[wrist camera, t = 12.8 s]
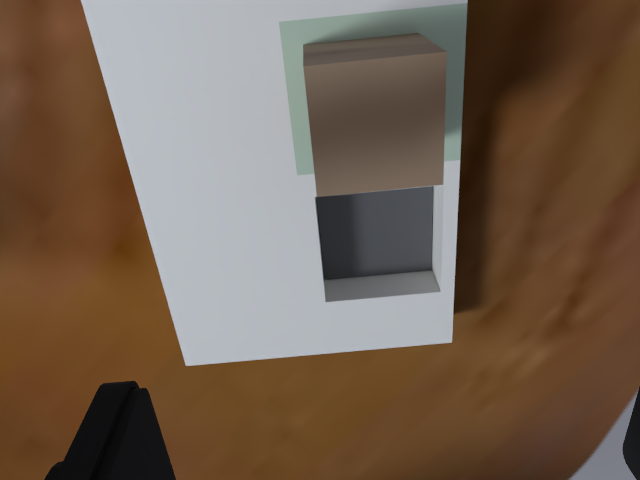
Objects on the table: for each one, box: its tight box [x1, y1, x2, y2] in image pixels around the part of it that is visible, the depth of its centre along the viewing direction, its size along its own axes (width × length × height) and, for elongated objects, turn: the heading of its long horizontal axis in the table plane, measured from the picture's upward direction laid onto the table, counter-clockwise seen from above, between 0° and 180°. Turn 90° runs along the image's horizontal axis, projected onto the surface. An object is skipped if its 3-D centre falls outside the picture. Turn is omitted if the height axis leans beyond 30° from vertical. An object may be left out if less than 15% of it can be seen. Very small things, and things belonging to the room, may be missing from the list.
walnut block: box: [303, 33, 447, 197], centre depth 21 cm, size 5×5×5 cm
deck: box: [81, 0, 468, 366], centre depth 24 cm, size 29×16×4 cm, turn 5°
